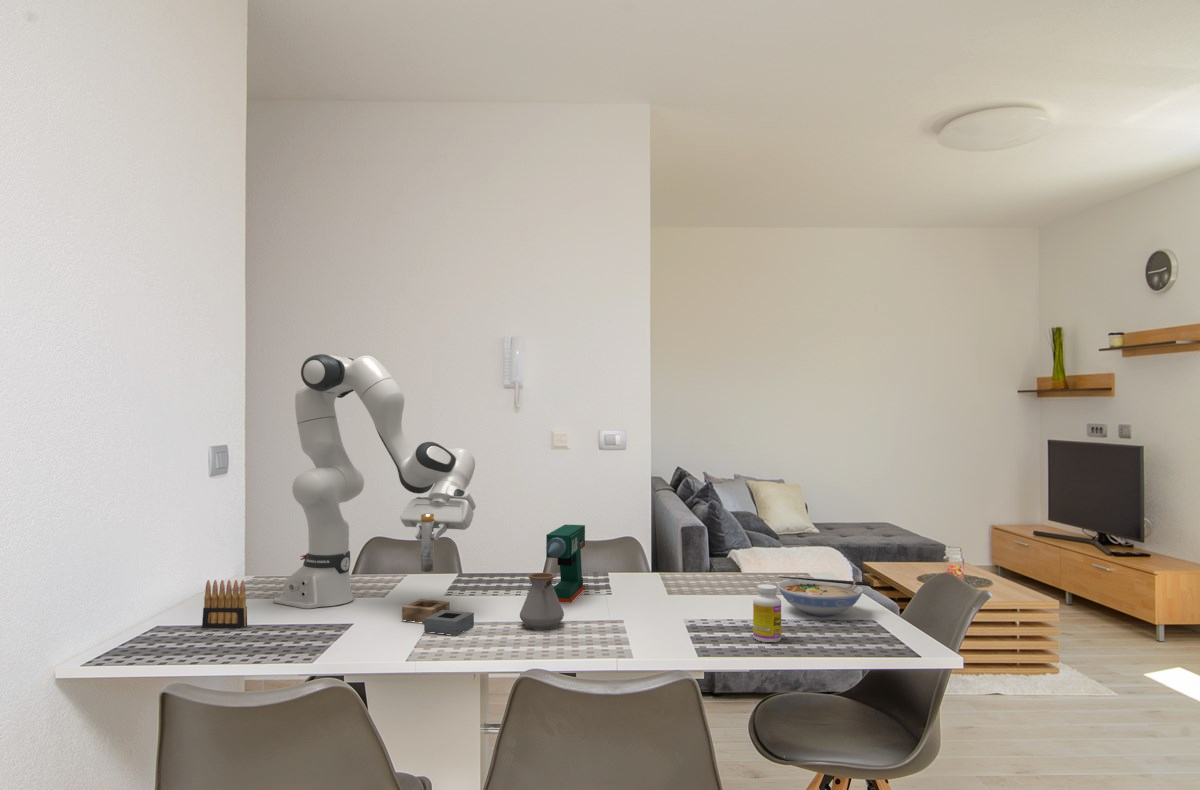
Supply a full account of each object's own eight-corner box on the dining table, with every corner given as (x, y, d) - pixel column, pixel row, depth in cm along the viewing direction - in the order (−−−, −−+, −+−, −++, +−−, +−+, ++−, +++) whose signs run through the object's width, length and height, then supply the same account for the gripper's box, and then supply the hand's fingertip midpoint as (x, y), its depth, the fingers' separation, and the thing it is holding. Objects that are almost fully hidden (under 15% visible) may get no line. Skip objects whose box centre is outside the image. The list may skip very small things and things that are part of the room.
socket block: (424, 632, 187) (424, 618, 187) (442, 623, 196) (443, 609, 196) (456, 636, 184) (456, 621, 185) (473, 626, 193) (473, 612, 193)
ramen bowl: (764, 617, 203) (764, 587, 203) (782, 599, 223) (782, 571, 223) (862, 629, 192) (862, 597, 192) (871, 609, 212) (871, 579, 213)
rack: (402, 621, 197) (402, 606, 198) (420, 613, 206) (420, 599, 206) (432, 624, 195) (432, 609, 195) (449, 615, 203) (449, 601, 203)
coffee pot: (517, 620, 199) (517, 563, 199) (560, 618, 201) (560, 562, 201) (525, 644, 178) (526, 580, 178) (573, 642, 180) (573, 578, 181)
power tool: (561, 615, 205) (561, 541, 205) (536, 613, 206) (536, 540, 207) (586, 589, 236) (587, 525, 237) (565, 587, 237) (565, 524, 238)
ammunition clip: (247, 626, 193) (248, 579, 193) (243, 628, 191) (244, 580, 191) (205, 626, 193) (206, 579, 193) (201, 628, 191) (202, 580, 191)
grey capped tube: (418, 571, 200) (418, 514, 200) (425, 569, 203) (425, 513, 203) (429, 572, 199) (429, 515, 199) (436, 569, 202) (436, 513, 202)
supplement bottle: (775, 645, 178) (775, 590, 178) (749, 640, 182) (749, 587, 182) (785, 638, 184) (784, 585, 184) (759, 634, 187) (758, 582, 188)
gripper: (408, 490, 211) (387, 529, 202) (473, 492, 205) (455, 533, 195) (417, 504, 215) (397, 544, 206) (481, 506, 209) (463, 548, 199)
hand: (426, 538), depth 200 cm, fingers closed on grey capped tube, 3 cm apart
